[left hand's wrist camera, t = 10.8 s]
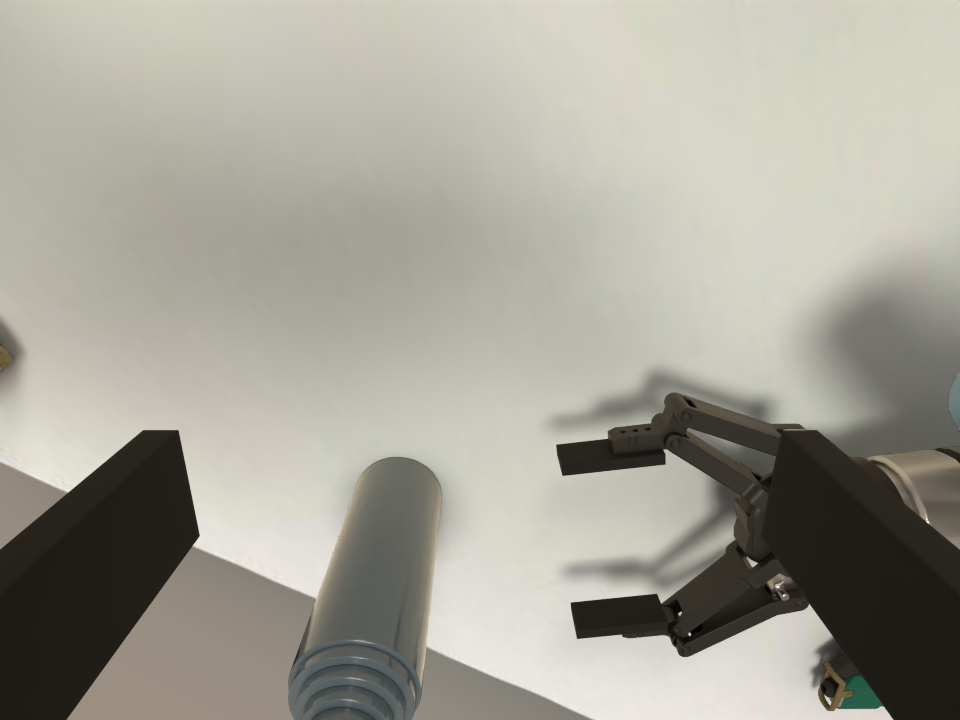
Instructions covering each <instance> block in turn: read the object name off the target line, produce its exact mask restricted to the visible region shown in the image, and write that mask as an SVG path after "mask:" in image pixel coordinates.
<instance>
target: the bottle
mask: <svg viewBox="0 0 960 720" xmlns="http://www.w3.org/2000/svg"><path fill="white" fill-rule="evenodd" d="M441 496H442V494H441V488H440V484H439V482H438V480H437V478H436V477H435V475H434V474H433V473H432V472H431V471H430V470H429V469H428V468H427V467H425V466H424V465H422V464H421V463H419V462H417V461H414V460H411V459H407V458H398V457H396V458H387V459H383V460H380V461H378V462H376V463H374V464H373V465H371V466H370V467H368V468H367V469H366V470H365V471H364V472H363V474H362V475H361V477H360V479H359V481H358V484H357V487H356V490H355V492H354V495H353V498H352V501H351V504H350V506H349V509H348V512H347V515H346V518H345V520H344V523H343V526H342V529H341V532H340V534H339V537H338V540H337V543H336V546H335V548H334V551H333V554H332V557H331V560H330V562H329V565H328V568H327V571H326V574H325V576H324V579H323V582H322V585H321V588H320V590H319V593H318V596H317V599H316V602H315V604H314V607H313V610H312V613H311V616H310V618H309V621H308V624H307V627H306V630H305V633H304V635H303V638H302V641H301V644H300V647H299V649H298V652H297V655H296V658H295V661H294V663H293V666H292V669H291V672H290V675H289V681H288V687H289V695H288V703H289V708H290V711H291V714H292V716H293V718H294V720H412V718H413V716H414V712H415V711H416V709H417V707H418V705H419V702H420V699H421V692H422V682H423V673H424V663H425V653H426V644H427V634H428V624H429V614H430V605H431V595H432V585H433V576H434V566H435V556H436V546H437V537H438V527H439V517H440V508H441Z"/></svg>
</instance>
